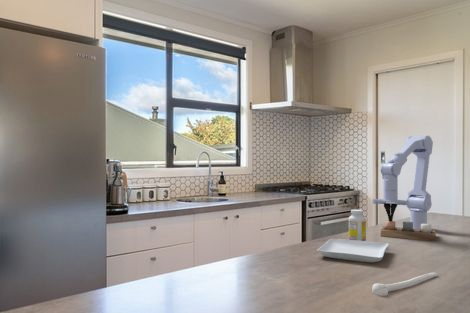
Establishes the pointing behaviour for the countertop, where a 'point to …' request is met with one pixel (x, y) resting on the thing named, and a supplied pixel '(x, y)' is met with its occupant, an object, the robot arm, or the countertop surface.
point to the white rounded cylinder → (426, 228)
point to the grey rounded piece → (407, 226)
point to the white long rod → (400, 284)
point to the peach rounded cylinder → (390, 225)
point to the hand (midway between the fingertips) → (390, 220)
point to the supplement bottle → (357, 226)
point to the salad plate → (353, 250)
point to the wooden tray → (408, 234)
